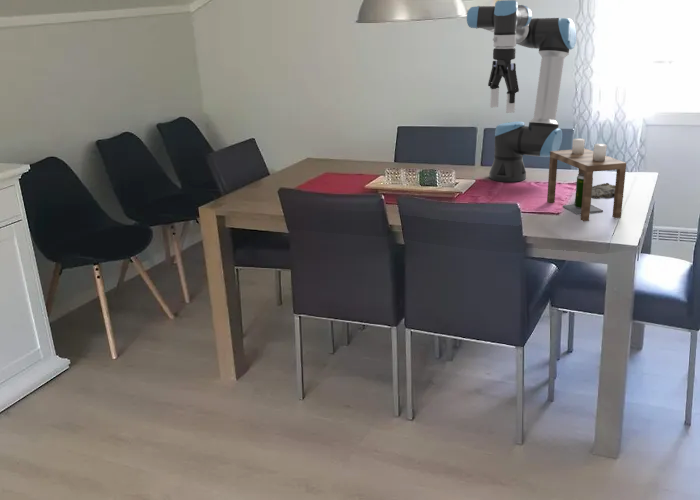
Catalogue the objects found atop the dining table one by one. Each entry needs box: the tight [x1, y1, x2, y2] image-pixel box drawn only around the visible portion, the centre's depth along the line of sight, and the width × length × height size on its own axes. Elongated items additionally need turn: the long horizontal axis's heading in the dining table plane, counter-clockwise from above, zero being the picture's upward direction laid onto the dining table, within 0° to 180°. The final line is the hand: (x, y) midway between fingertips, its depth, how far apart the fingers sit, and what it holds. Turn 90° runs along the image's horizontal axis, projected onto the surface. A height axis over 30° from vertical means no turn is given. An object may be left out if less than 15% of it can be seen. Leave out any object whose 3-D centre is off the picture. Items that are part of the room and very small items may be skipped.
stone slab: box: [591, 182, 615, 199], centre depth 275 cm, size 12×17×3 cm
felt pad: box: [562, 203, 604, 215], centre depth 255 cm, size 10×10×1 cm
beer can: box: [574, 173, 594, 209], centre depth 253 cm, size 5×5×12 cm
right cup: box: [593, 143, 608, 161], centre depth 242 cm, size 4×4×5 cm
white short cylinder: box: [571, 137, 586, 155], centre depth 253 cm, size 4×4×5 cm
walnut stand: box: [546, 147, 627, 222], centre depth 252 cm, size 26×14×19 cm, turn 13°
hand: (502, 109), depth 253 cm, fingers open, 13 cm apart
